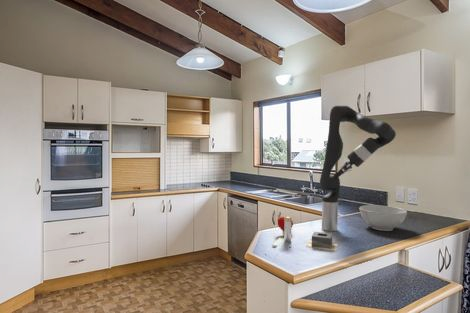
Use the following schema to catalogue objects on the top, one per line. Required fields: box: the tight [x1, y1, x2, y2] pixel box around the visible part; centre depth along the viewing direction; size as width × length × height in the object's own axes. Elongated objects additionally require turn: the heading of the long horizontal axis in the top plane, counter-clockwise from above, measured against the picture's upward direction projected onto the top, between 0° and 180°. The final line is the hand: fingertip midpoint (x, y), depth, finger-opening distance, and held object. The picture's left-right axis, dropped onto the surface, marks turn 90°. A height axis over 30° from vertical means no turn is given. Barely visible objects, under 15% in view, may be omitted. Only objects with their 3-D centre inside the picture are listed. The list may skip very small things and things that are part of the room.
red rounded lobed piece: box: [277, 216, 294, 236], centre depth 176 cm, size 9×7×10 cm
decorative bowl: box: [359, 204, 408, 232], centre depth 194 cm, size 27×27×12 cm
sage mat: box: [272, 237, 284, 248], centre depth 159 cm, size 14×12×1 cm
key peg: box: [283, 216, 293, 244], centre depth 159 cm, size 4×4×13 cm
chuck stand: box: [305, 231, 338, 252], centre depth 155 cm, size 14×14×6 cm
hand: (335, 177), depth 161 cm, fingers open, 8 cm apart
